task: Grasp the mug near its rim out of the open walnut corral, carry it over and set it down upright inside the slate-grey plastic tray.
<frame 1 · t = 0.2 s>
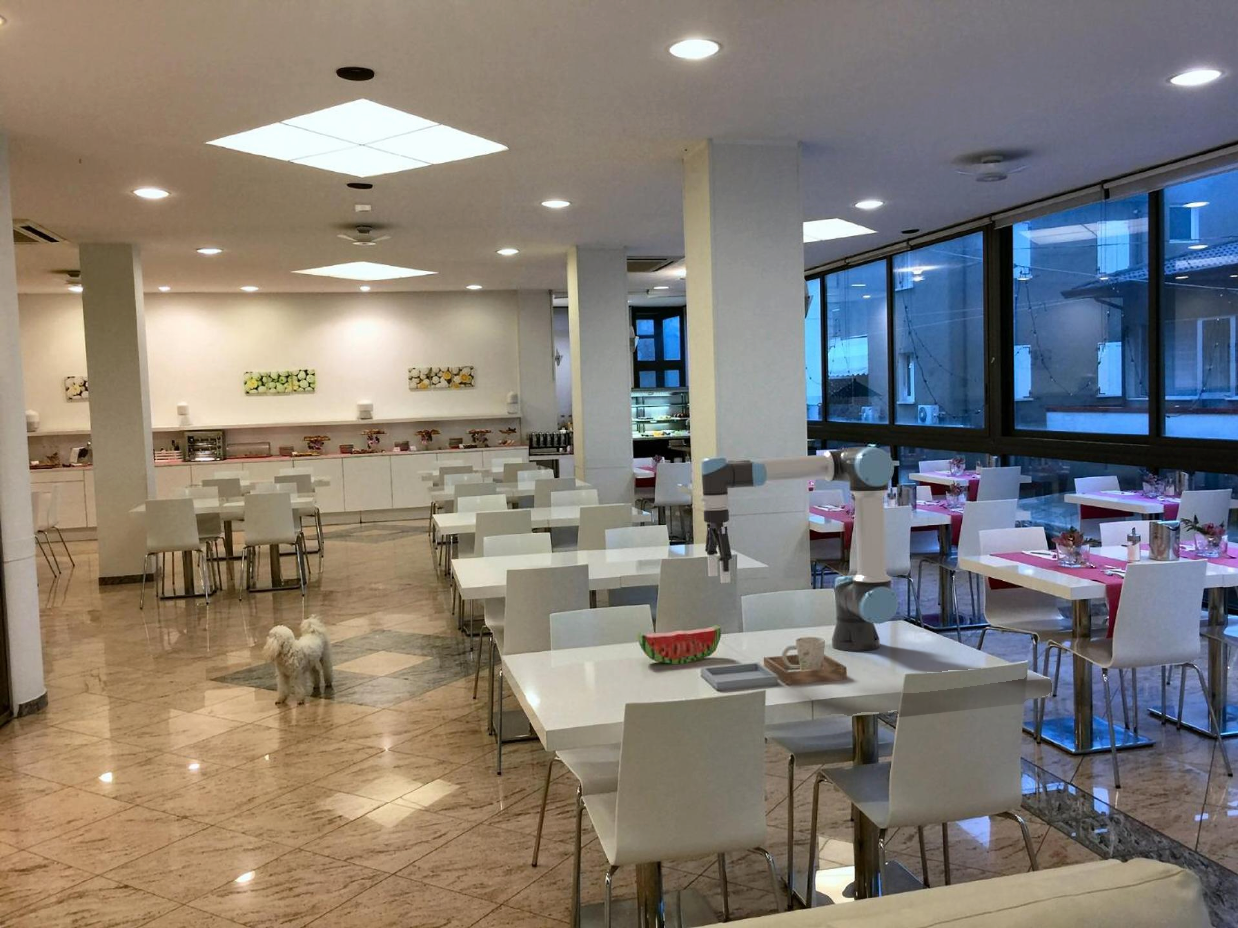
hand: (719, 579, 298), 28 cm above the table, fingers open, 13 cm apart
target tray: (738, 680, 286), on the table
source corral: (804, 673, 290), on the table
fruit slice: (680, 661, 313), on the table
mug: (804, 674, 290), resting in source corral
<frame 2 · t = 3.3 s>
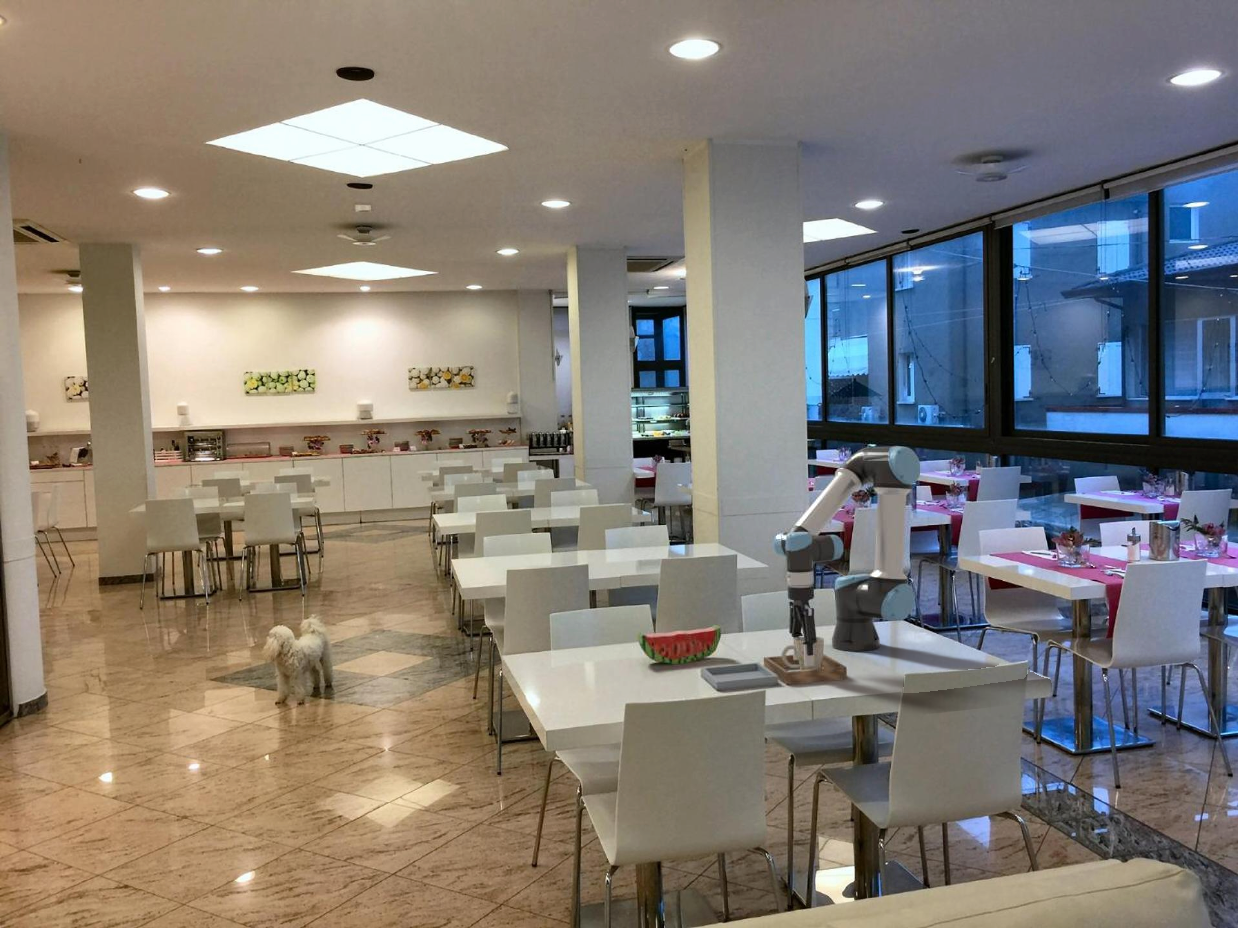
hand: (803, 662, 289), 3 cm above the table, fingers closed on mug, 8 cm apart
mug: (804, 674, 290), resting in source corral, touching gripper
everything else where it was.
when the fingers open (5 cm above the table, at t = 8.8 s): mug drops 2 cm, resting on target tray.
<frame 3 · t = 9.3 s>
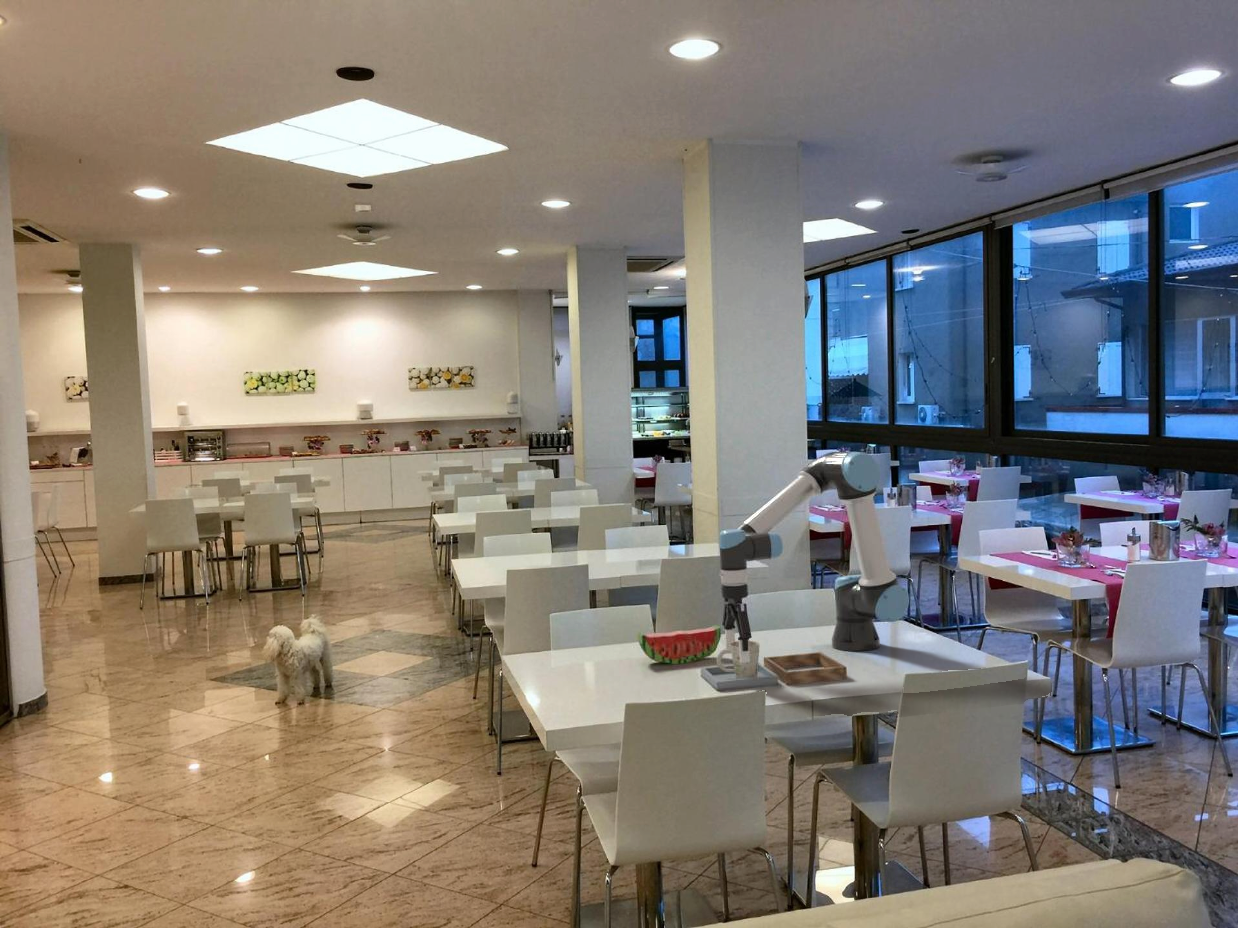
hand: (737, 656, 286), 7 cm above the table, fingers open, 13 cm apart
mug: (739, 678, 286), resting on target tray
everything else where it was.
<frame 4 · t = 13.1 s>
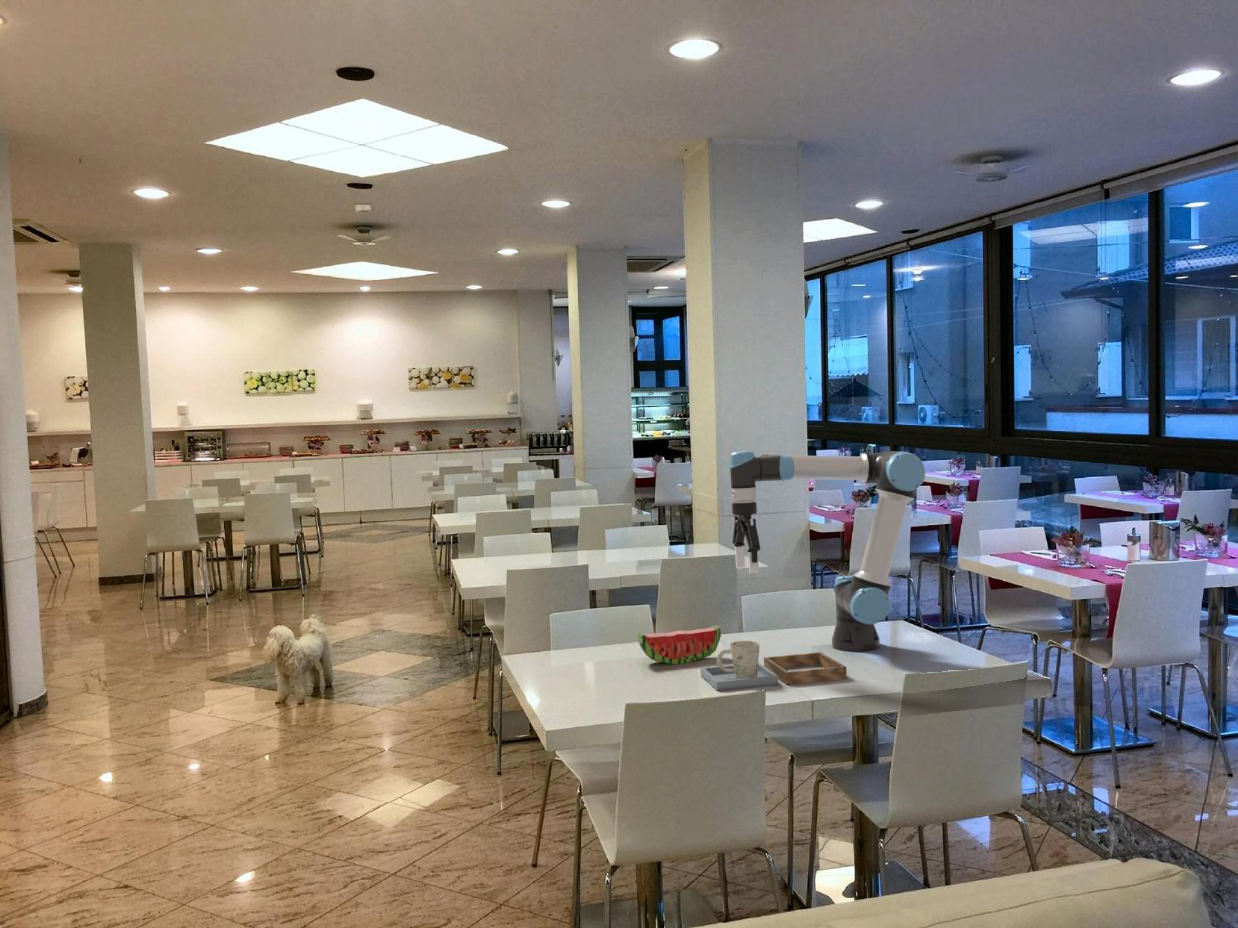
hand: (747, 570, 305), 29 cm above the table, fingers open, 13 cm apart
nothing on the table moved.
at the end: mug inside the target area on the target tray (0.3 cm from its centre), point 0.4 cm above the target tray's base; mug tilted 0°; the gripper is holding nothing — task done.
